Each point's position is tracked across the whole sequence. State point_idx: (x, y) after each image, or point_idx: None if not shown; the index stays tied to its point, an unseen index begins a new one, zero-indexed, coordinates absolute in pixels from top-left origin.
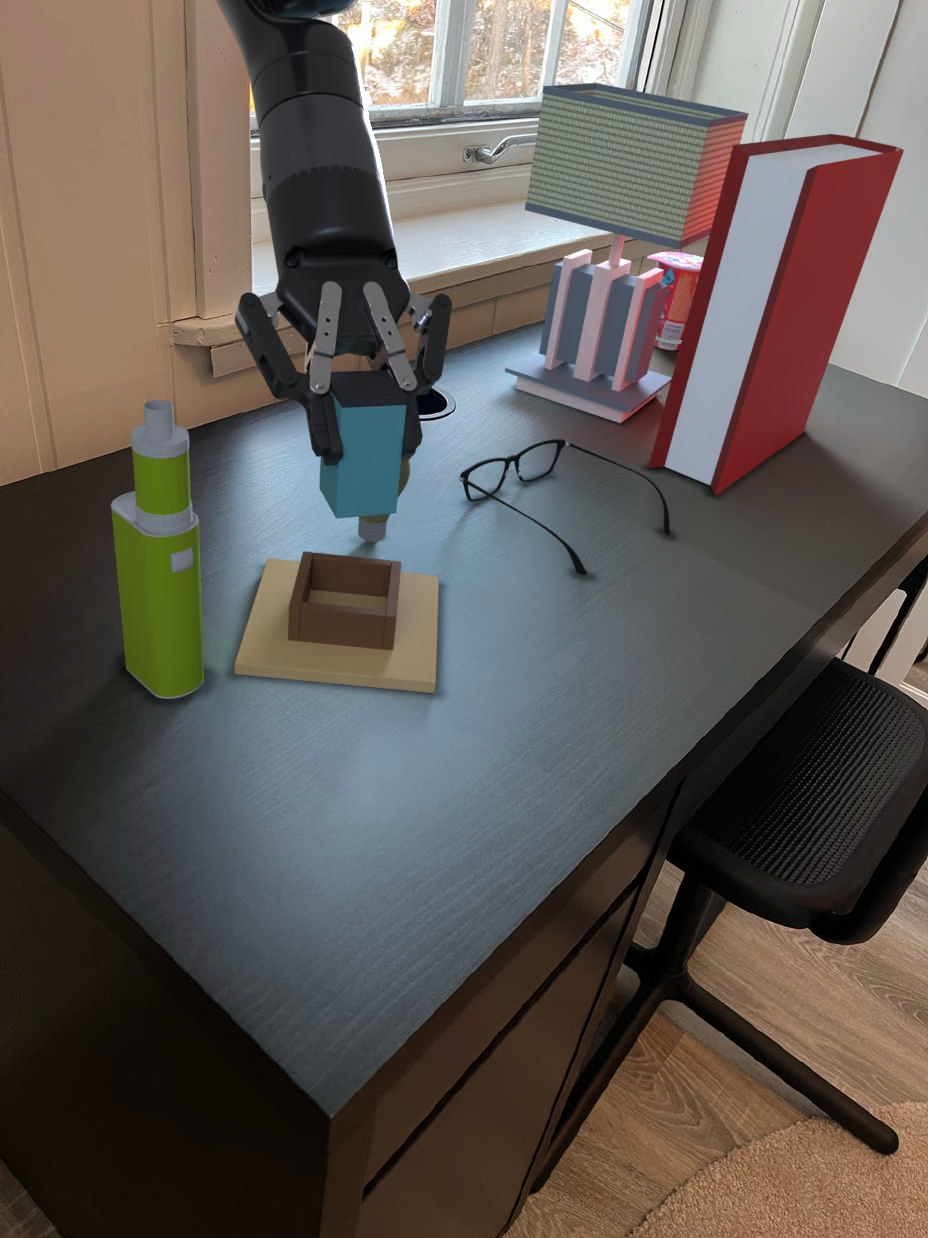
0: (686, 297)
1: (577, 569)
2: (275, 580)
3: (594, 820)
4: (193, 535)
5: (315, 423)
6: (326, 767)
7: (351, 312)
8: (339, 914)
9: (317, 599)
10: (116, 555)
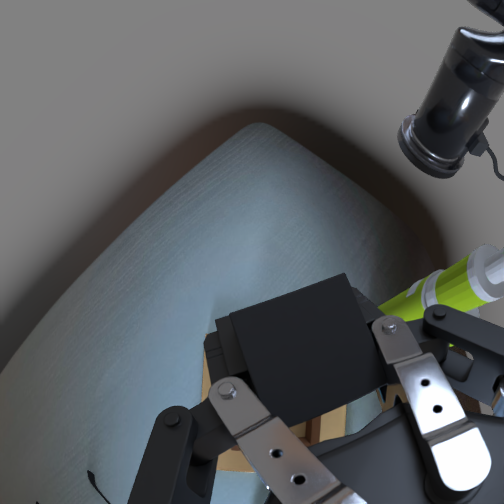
0: None
1: (92, 474)
2: None
3: (130, 233)
4: (418, 292)
5: (367, 301)
6: (276, 260)
7: (388, 481)
8: (261, 174)
9: (298, 425)
10: None
